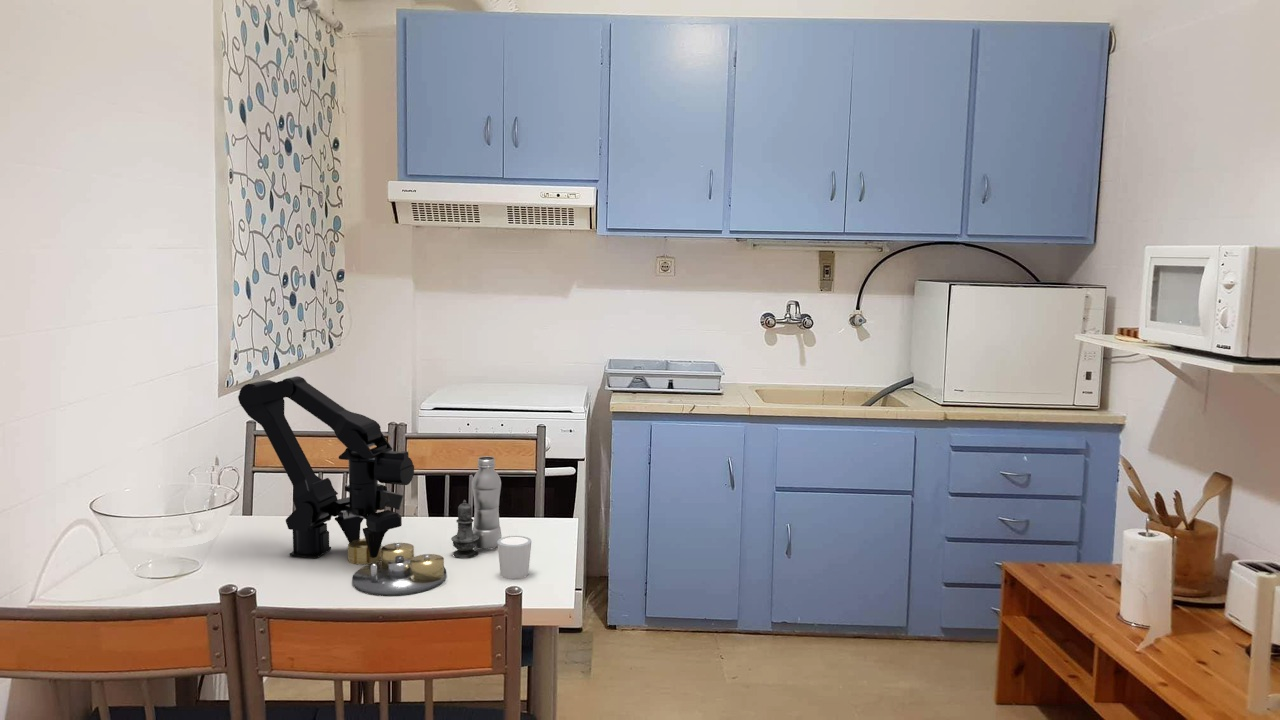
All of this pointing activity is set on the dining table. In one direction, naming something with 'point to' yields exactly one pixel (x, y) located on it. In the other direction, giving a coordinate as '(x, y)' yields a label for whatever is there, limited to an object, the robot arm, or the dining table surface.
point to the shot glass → (514, 556)
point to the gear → (361, 553)
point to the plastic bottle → (486, 504)
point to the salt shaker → (465, 533)
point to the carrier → (400, 572)
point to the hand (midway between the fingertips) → (364, 553)
